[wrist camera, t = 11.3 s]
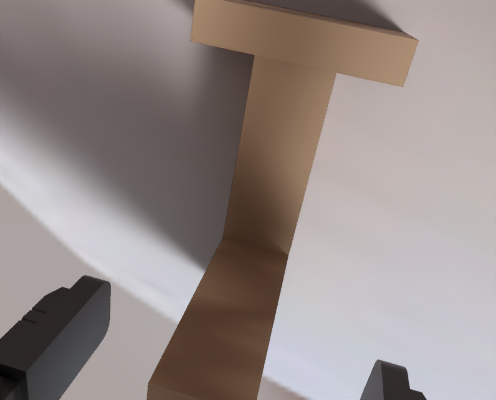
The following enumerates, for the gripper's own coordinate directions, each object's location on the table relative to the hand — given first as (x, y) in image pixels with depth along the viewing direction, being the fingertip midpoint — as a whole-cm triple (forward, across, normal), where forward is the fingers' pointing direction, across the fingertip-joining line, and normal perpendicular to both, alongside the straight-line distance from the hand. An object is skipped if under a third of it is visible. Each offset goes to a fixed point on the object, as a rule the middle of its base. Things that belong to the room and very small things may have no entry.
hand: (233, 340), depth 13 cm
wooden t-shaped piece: (+6, 0, -3) cm, 7 cm away
